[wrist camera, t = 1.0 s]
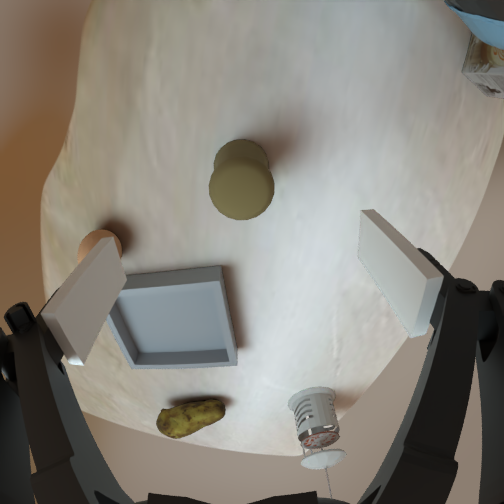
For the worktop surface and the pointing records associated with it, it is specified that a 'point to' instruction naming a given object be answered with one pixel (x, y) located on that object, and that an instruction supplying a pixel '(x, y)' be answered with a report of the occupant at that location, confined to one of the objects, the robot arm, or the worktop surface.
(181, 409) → the potato
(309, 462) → the french press
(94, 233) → the egg
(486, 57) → the coffee box
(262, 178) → the cork
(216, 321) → the grey bin
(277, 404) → the worktop surface
